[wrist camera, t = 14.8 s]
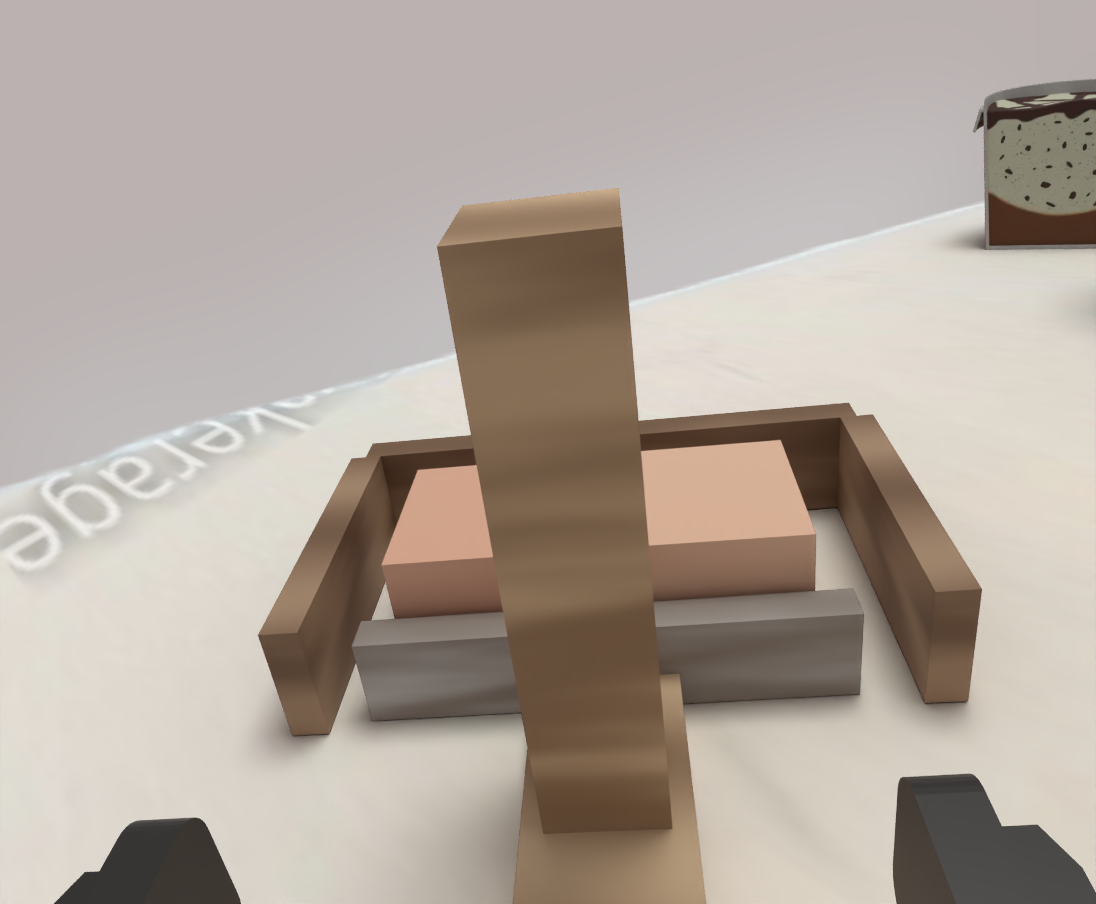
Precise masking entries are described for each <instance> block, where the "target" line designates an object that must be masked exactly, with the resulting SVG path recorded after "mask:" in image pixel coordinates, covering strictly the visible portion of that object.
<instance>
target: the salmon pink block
mask: <svg viewBox="0 0 1096 904" xmlns="http://www.w3.org/2000/svg"><path fill="white" fill-rule="evenodd" d="M381 566H382V569H383V573H384V577H385V581H386V585H387V589H388V593H389V597H390V601H391V605H392V609H393V613H394V617H395V619H404V618H419V617H433V616H448V615H463V614H478V613H493V612H503V609H502V603H501V598H500V592H499V587H498V581H497V576H496V570H495V564H494V559H493V553H492V548H491V542H490V537H489V531H488V526H487V520H486V515H485V509H484V504H483V498H482V493H481V487H480V481H479V476H478V470H477V465H472V466H460V467H448V468H436V469H424V470H418V471H417V473H416V476H415V479H414V481H413V484H412V486H411V489H410V492H409V494H408V497H407V500H406V502H405V505H404V507H403V510H402V513H401V515H400V518H399V520H398V523H397V526H396V528H395V531H394V533H393V536H392V539H391V541H390V544H389V547H388V549H387V552H386V554H385V557H384V560H383V562H382V565H381Z"/></svg>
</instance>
